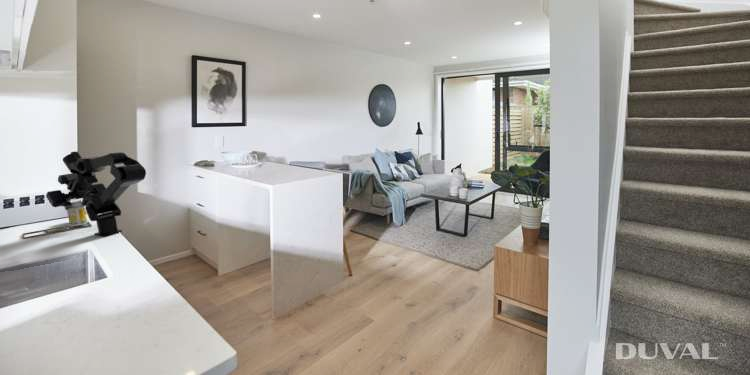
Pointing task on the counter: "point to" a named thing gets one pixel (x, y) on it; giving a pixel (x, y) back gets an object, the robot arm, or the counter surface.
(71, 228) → the board
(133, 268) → the counter surface
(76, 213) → the supplement bottle
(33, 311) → the counter surface
